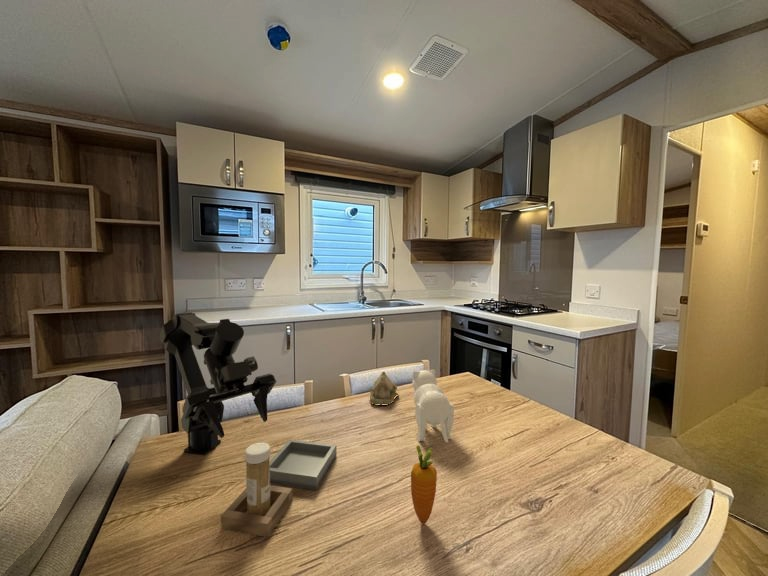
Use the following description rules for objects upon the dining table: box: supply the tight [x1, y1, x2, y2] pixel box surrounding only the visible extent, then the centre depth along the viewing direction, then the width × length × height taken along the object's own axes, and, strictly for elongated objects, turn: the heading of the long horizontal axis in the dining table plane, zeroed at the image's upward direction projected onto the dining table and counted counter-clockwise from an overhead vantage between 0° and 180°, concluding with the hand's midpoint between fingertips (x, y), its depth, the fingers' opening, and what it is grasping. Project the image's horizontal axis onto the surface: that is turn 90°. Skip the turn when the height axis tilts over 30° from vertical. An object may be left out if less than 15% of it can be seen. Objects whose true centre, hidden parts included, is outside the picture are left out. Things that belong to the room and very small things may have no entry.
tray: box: [269, 438, 337, 491], centre depth 78 cm, size 13×13×3 cm
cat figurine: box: [408, 369, 455, 443], centre depth 94 cm, size 25×10×17 cm, turn 12°
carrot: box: [410, 444, 438, 525], centre depth 61 cm, size 5×5×15 cm
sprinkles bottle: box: [244, 442, 272, 516], centre depth 63 cm, size 5×5×13 cm
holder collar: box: [220, 484, 293, 538], centre depth 63 cm, size 10×10×2 cm
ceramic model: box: [369, 371, 399, 405], centre depth 120 cm, size 14×11×10 cm
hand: (245, 428), depth 68 cm, fingers open, 9 cm apart
